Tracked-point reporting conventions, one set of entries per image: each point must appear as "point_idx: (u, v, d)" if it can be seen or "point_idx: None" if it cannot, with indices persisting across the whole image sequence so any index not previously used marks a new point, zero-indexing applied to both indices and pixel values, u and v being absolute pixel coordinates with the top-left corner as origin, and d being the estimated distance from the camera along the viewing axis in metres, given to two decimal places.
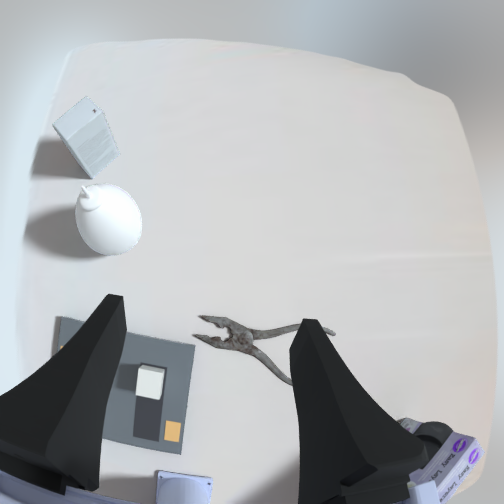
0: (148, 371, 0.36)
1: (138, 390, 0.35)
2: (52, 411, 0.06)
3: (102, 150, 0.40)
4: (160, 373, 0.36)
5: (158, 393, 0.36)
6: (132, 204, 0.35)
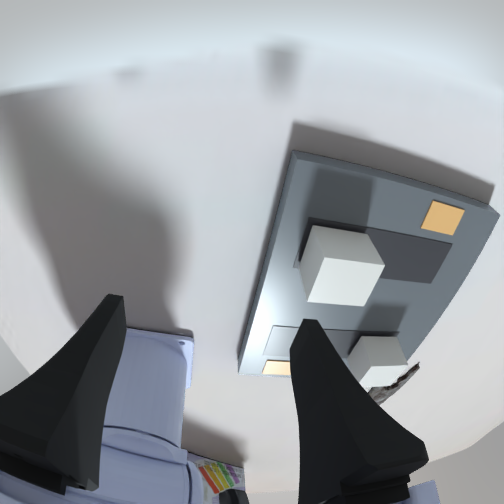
0: (399, 374, 0.23)
1: (377, 368, 0.22)
2: (52, 411, 0.06)
3: None
4: (390, 383, 0.24)
5: (364, 386, 0.23)
6: None
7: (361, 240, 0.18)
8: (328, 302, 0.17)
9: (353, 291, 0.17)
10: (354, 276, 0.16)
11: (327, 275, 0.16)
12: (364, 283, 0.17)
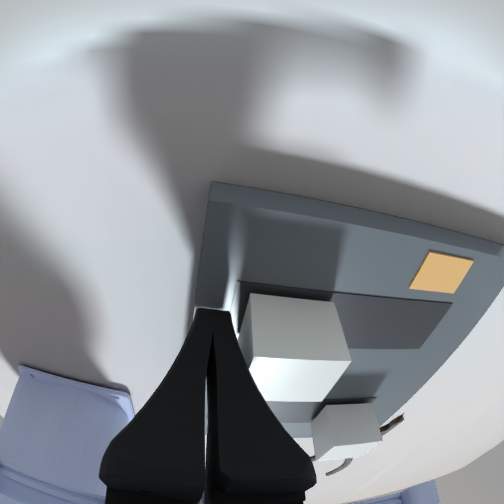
0: (371, 448, 0.17)
1: (341, 447, 0.16)
2: (192, 439, 0.07)
3: None
4: (361, 455, 0.18)
5: (327, 459, 0.18)
6: None
7: (322, 315, 0.12)
8: (268, 399, 0.12)
9: (304, 389, 0.12)
10: (303, 375, 0.11)
11: (262, 374, 0.11)
12: (320, 381, 0.11)
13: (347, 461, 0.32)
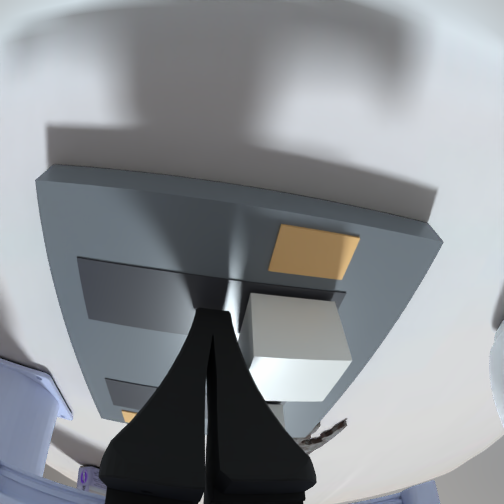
0: None
1: None
2: (192, 439, 0.07)
3: None
4: None
5: None
6: None
7: (323, 315, 0.12)
8: (269, 399, 0.12)
9: (305, 389, 0.11)
10: (303, 375, 0.11)
11: (263, 374, 0.11)
12: (321, 380, 0.11)
13: None
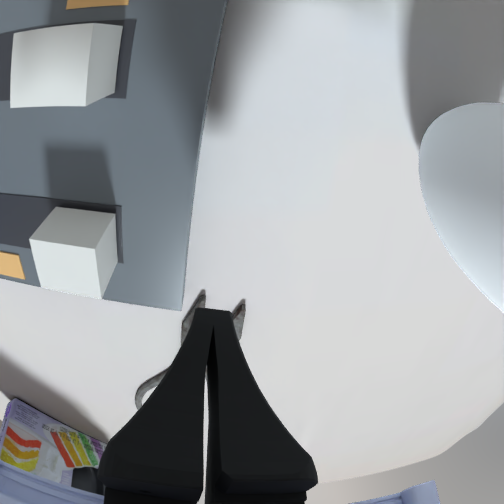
0: (94, 271, 0.13)
1: (41, 246, 0.12)
2: (190, 439, 0.07)
3: None
4: (99, 294, 0.14)
5: (53, 287, 0.14)
6: None
7: None
8: (33, 104, 0.09)
9: (60, 78, 0.08)
10: (53, 52, 0.08)
11: (21, 57, 0.08)
12: (71, 60, 0.08)
13: None
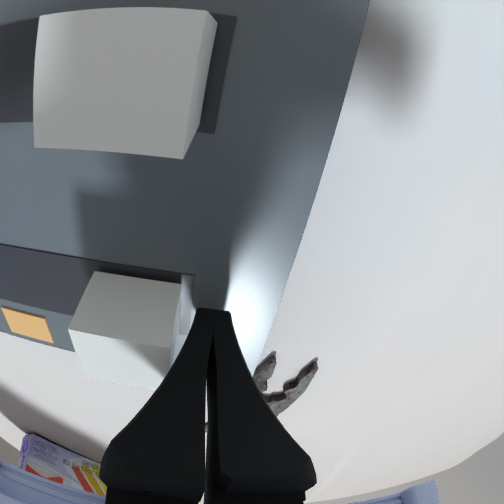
0: (165, 368, 0.10)
1: (87, 338, 0.09)
2: (192, 439, 0.07)
3: None
4: None
5: (102, 378, 0.11)
6: None
7: None
8: (78, 145, 0.06)
9: (133, 104, 0.05)
10: (119, 54, 0.05)
11: (54, 60, 0.05)
12: (157, 74, 0.05)
13: None
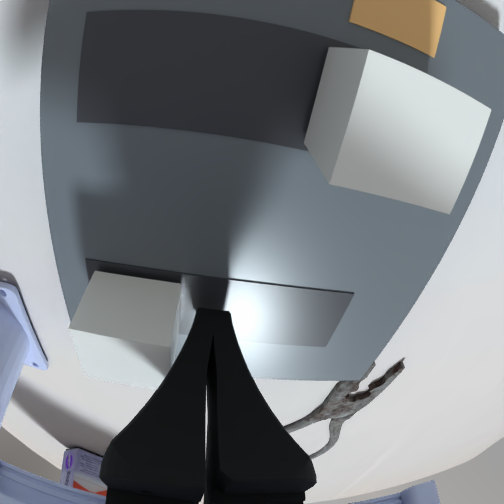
0: (166, 368, 0.10)
1: (87, 337, 0.09)
2: (192, 439, 0.07)
3: None
4: None
5: (102, 377, 0.11)
6: None
7: None
8: (379, 191, 0.07)
9: (434, 167, 0.06)
10: (436, 123, 0.06)
11: (379, 104, 0.06)
12: (455, 148, 0.06)
13: (332, 438, 0.26)
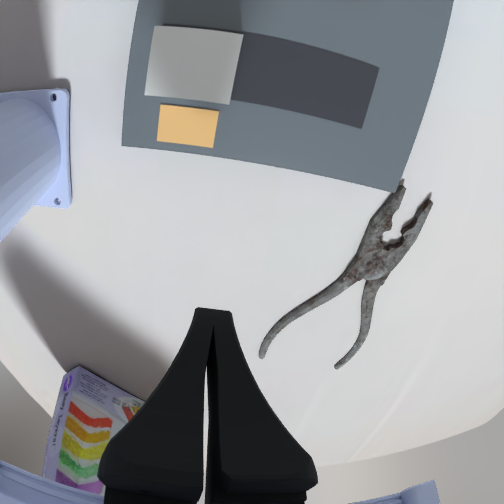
0: (233, 63, 0.11)
1: (169, 33, 0.10)
2: (190, 439, 0.07)
3: None
4: (227, 98, 0.12)
5: (163, 92, 0.11)
6: None
7: None
8: None
9: None
10: None
11: None
12: None
13: (364, 325, 0.27)
